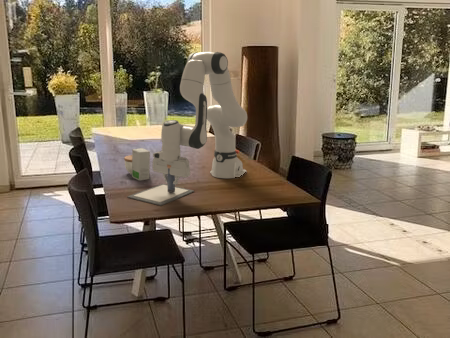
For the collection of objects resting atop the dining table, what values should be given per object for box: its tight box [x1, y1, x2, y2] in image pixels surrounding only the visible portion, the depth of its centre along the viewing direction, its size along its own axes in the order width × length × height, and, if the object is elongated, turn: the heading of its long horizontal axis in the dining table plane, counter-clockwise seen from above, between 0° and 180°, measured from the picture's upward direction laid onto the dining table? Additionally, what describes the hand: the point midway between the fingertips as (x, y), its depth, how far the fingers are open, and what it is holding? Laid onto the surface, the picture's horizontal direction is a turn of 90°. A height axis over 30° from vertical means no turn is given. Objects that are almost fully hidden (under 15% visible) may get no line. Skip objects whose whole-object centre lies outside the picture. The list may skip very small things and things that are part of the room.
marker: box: [166, 165, 176, 193], centre depth 222 cm, size 4×4×14 cm
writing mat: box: [127, 183, 195, 207], centre depth 225 cm, size 26×20×1 cm
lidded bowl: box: [123, 154, 132, 175], centre depth 260 cm, size 13×13×11 cm
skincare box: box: [131, 147, 151, 181], centre depth 250 cm, size 8×7×16 cm
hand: (171, 183), depth 223 cm, fingers closed on marker, 4 cm apart
